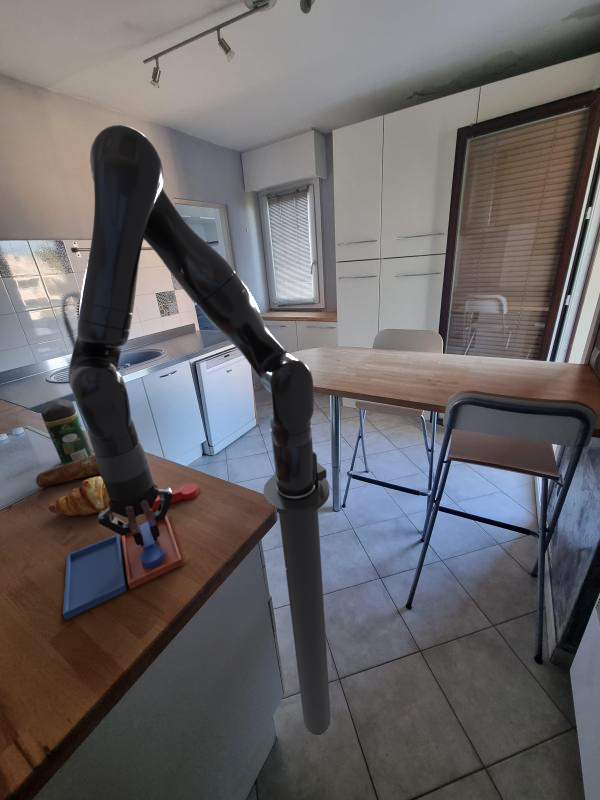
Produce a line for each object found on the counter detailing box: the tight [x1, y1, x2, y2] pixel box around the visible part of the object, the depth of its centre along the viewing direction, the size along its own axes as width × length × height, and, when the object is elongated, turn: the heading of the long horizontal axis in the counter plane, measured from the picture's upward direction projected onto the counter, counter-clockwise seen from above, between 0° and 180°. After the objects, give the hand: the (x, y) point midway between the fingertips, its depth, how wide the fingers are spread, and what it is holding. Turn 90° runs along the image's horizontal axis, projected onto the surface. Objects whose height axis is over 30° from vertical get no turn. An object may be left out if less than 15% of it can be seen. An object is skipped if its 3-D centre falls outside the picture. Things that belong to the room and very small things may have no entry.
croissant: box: [47, 475, 110, 517], centre depth 79 cm, size 21×10×8 cm, turn 113°
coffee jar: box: [40, 397, 93, 465], centre depth 95 cm, size 10×8×19 cm
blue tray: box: [62, 533, 128, 620], centre depth 61 cm, size 9×14×1 cm, turn 31°
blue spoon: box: [139, 521, 165, 569], centre depth 65 cm, size 11×4×2 cm, turn 31°
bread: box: [35, 454, 100, 488], centre depth 90 cm, size 6×19×6 cm, turn 112°
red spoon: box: [152, 483, 199, 512], centre depth 78 cm, size 11×4×2 cm, turn 121°
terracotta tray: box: [121, 514, 184, 590], centre depth 65 cm, size 9×14×1 cm, turn 31°
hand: (148, 540), depth 66 cm, fingers closed on blue spoon, 2 cm apart
